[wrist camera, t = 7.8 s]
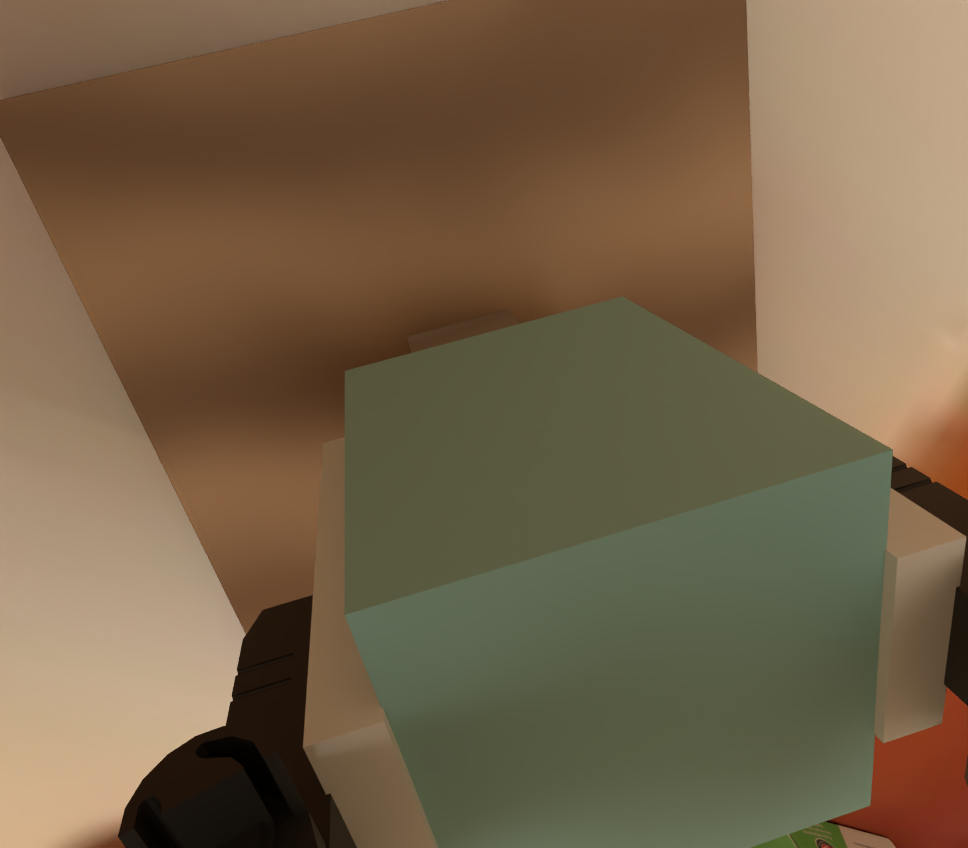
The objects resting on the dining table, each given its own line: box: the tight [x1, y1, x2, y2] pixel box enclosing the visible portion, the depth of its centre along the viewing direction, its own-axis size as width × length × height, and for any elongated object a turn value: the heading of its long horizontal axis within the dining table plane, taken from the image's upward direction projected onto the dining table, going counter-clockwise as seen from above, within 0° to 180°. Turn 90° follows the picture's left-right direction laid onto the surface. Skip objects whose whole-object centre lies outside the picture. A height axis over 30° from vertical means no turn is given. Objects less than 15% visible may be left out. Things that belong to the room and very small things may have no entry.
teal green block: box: [344, 296, 893, 848], centre depth 10 cm, size 5×5×7 cm
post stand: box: [0, 0, 757, 634], centre depth 15 cm, size 16×16×6 cm
